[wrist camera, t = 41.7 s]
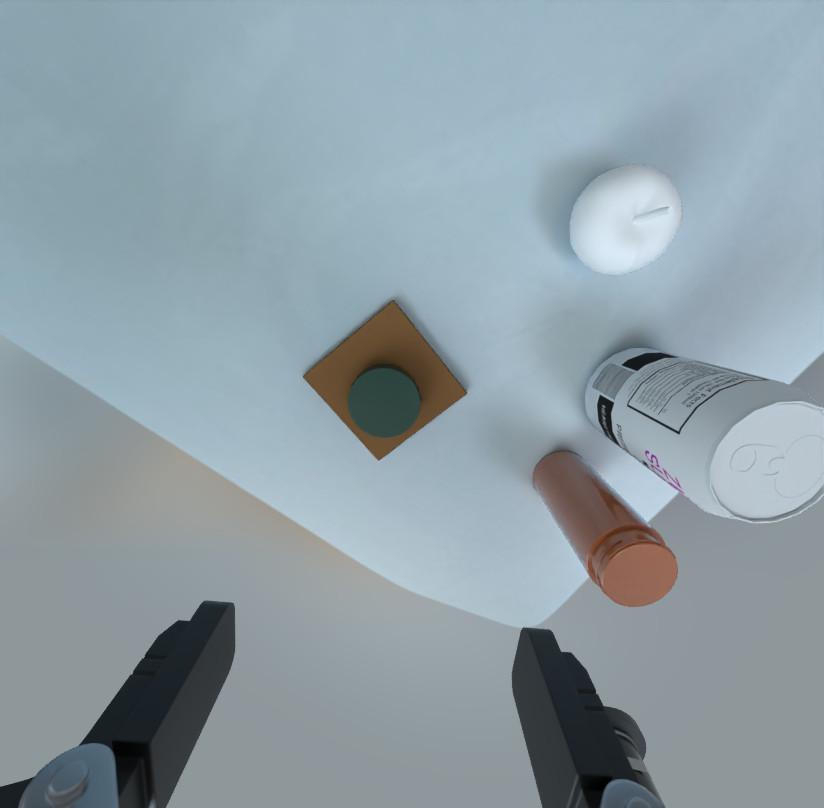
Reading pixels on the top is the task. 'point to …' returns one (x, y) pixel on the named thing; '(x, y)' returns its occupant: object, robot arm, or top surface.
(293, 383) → the top surface
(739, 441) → the supplement can
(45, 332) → the top surface
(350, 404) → the lid
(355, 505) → the top surface
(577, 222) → the plain white apple
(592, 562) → the jar
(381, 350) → the coaster
